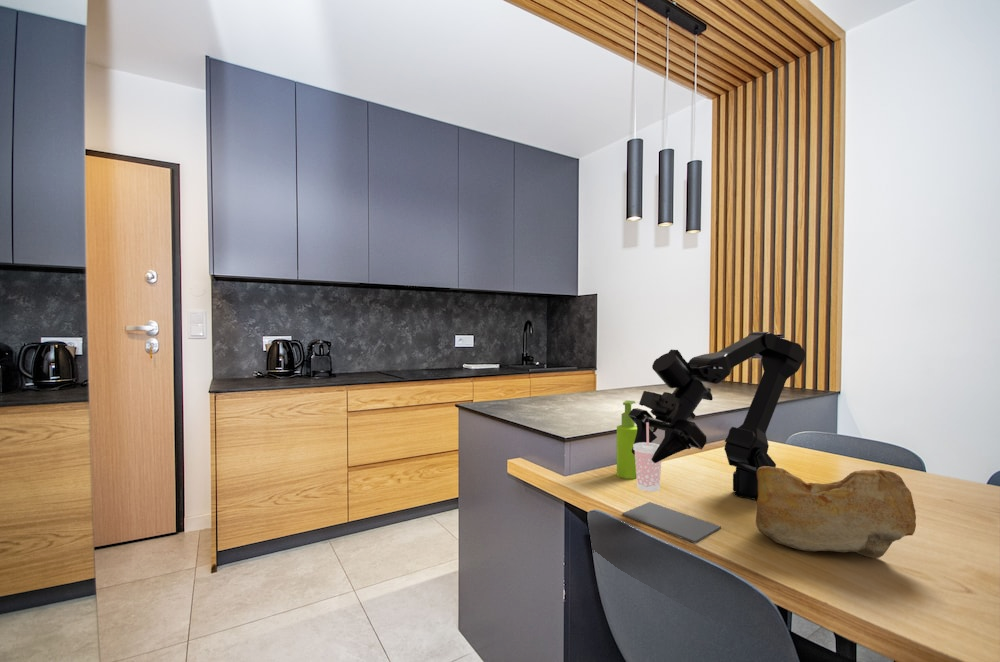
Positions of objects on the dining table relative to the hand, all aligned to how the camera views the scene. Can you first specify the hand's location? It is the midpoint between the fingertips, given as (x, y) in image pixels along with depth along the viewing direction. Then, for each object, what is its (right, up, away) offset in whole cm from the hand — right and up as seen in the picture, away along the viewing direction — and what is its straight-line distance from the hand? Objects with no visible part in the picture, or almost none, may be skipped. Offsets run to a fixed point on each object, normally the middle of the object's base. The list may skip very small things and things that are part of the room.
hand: (642, 457), depth 94 cm
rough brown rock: (+30, -12, -12) cm, 35 cm away
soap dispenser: (+4, -12, +26) cm, 29 cm away
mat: (+4, -12, -4) cm, 13 cm away
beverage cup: (+1, -7, 0) cm, 7 cm away
